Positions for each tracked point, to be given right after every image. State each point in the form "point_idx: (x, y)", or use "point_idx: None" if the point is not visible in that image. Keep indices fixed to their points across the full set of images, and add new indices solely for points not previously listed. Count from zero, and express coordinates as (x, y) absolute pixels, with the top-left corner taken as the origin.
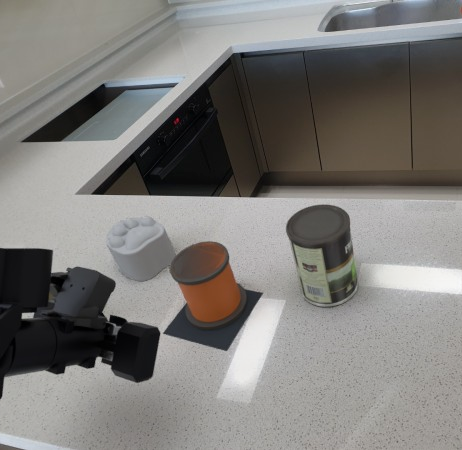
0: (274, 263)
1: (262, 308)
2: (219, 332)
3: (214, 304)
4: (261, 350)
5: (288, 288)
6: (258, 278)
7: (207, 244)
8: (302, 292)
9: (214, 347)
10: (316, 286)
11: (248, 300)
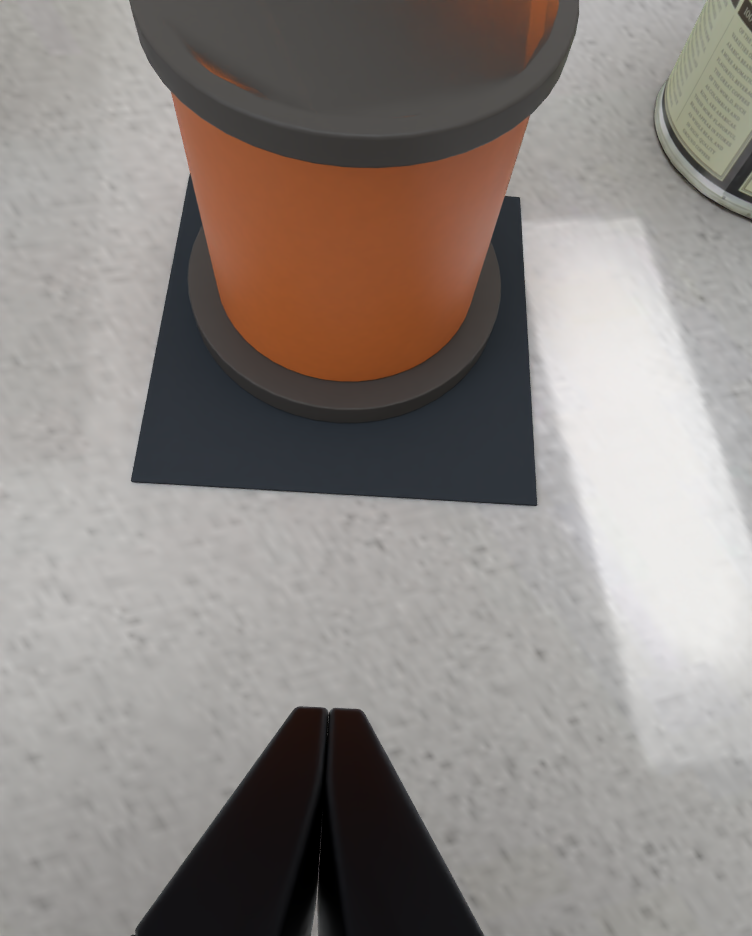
0: None
1: (564, 269)
2: (441, 419)
3: (451, 285)
4: (694, 468)
5: (615, 166)
6: None
7: None
8: (713, 174)
9: (465, 501)
10: None
11: None
